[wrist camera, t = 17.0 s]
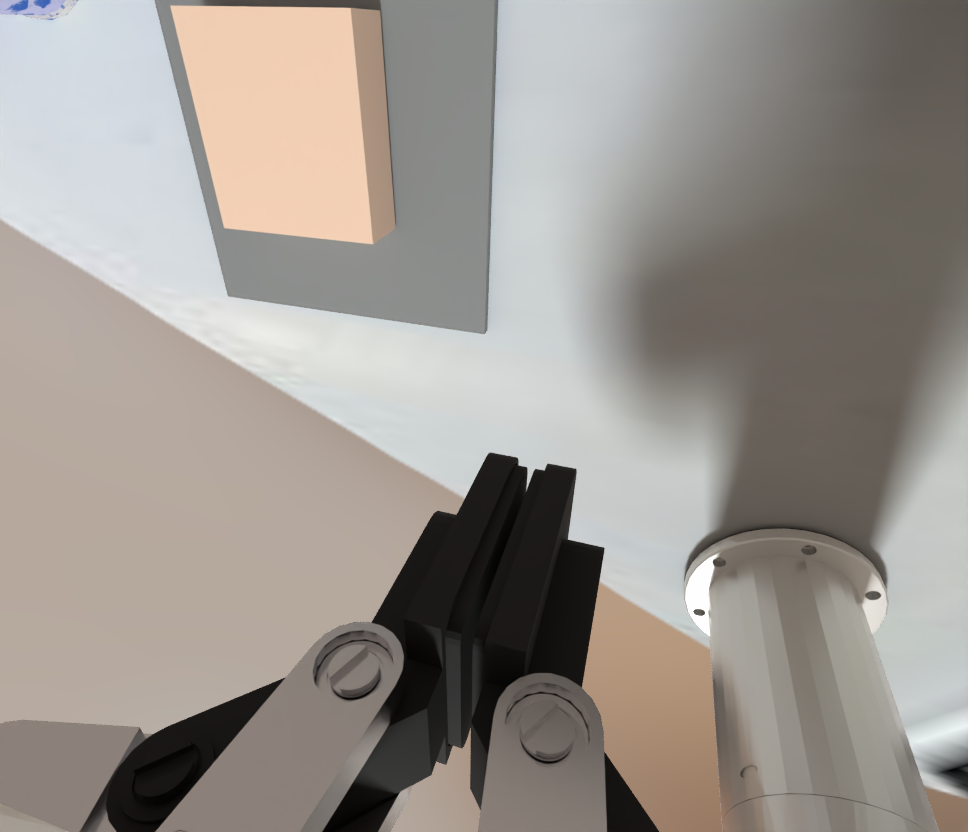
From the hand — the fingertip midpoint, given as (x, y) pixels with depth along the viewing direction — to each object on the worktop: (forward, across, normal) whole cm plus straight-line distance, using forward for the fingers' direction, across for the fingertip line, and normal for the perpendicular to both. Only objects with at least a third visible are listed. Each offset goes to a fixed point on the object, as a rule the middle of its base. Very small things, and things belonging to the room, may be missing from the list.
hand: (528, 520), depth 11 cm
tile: (+20, +13, -5) cm, 24 cm away
